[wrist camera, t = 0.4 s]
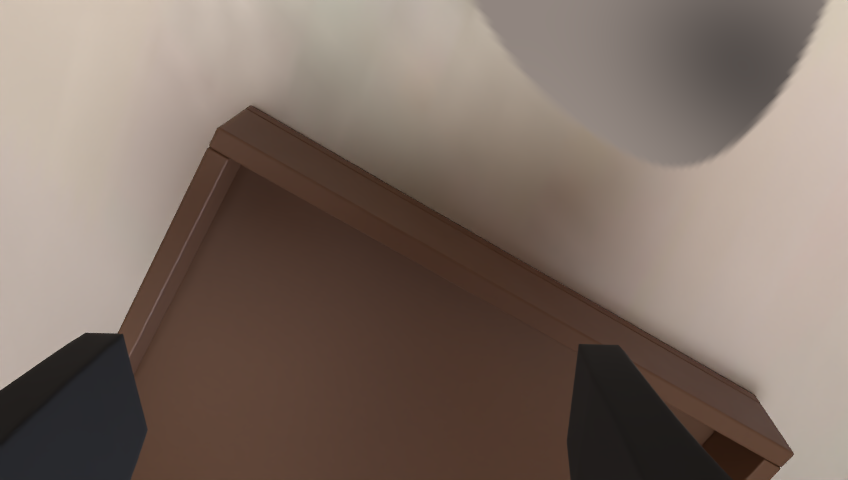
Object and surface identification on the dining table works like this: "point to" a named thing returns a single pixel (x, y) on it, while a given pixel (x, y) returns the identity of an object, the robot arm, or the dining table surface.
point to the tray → (374, 337)
